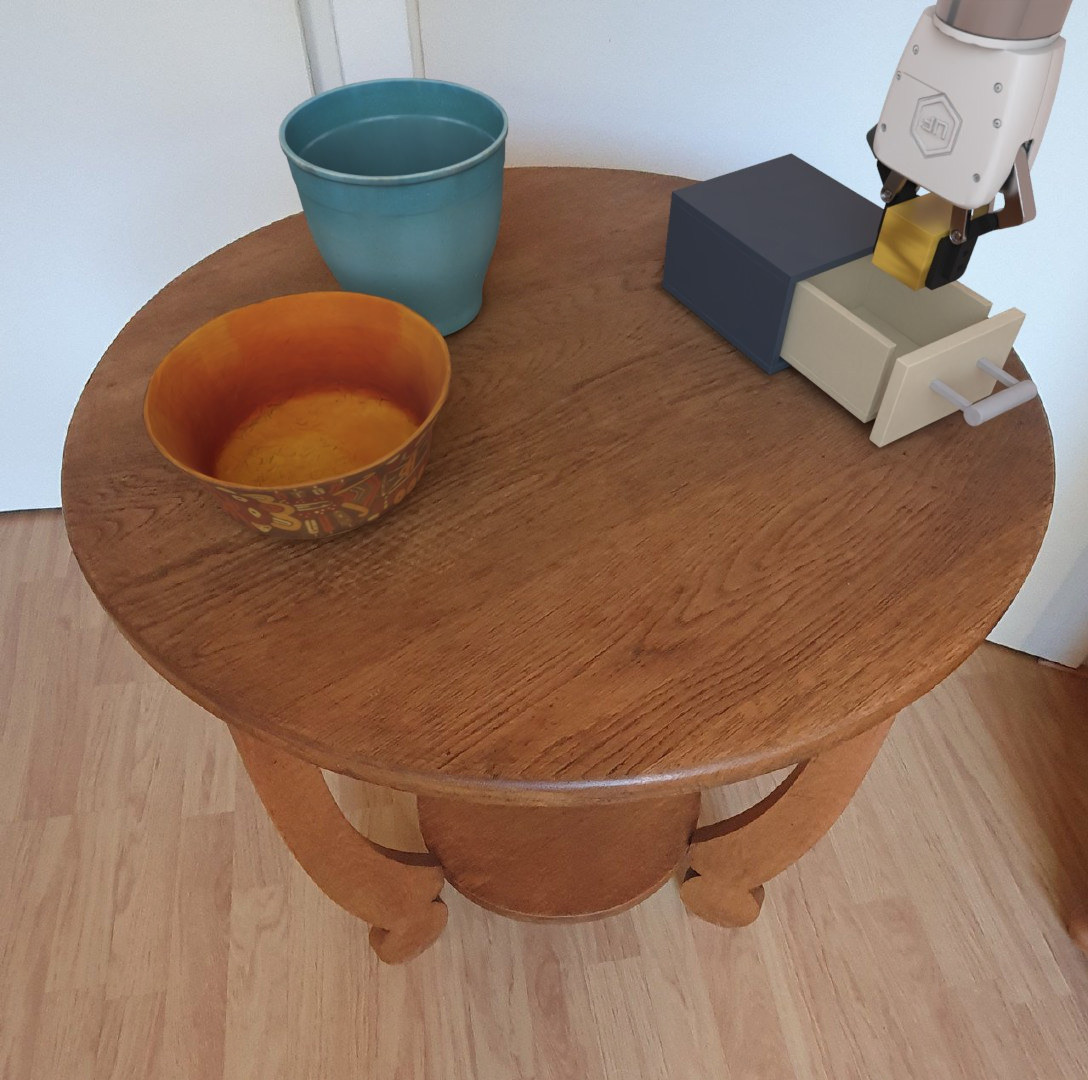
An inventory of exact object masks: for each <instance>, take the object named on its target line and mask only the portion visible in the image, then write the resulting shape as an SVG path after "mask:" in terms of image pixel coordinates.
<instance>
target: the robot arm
mask: <svg viewBox="0 0 1088 1080" xmlns="http://www.w3.org/2000/svg"><path fill="white" fill-rule="evenodd" d="M1073 1H1074V0H936V4H933V5H930V6H927V7H925V8H924V9H923V11H922V13H921V14H920V16H919V18H918V19H917V20H918V21H917V23H916V24H915V26H914V28H913V30H912V31H911V35H910V36H909V38H908V40H907V43H906V45H905V46H904V49H903V51H902V53H901V56H900V59H899V61H898V63H897V66H896V68H895V71H894V74H893V76H892V79H891V82H890V85H889V88H888V90H887V93H886V95H885V96H886V97H885V99H884V103H883V106H882V109H881V112H880V115H879V118H878V122H877V123H876V124H874V126H872V127H871V128H870V129H869V130H868V131H867V133H866V135H865V140H866V142H867V144H868V147H869V149H870V151H871V153H872V155H873V157H874V159H875V160H876V169H877V172H878V175H879V177H880V180H881V184H882V188H881V190H880V194H879V195H880V199H881V200H882V202H883V203H885V204H884V207H883V209H884V210H883V214H882V217H881V221H880V224H879V228H878V231H877V238H876V241H875V245H874V248H873V253H874V252H875V248H876V245H877V241H878V238H879V234H880V231H881V228H882V224H883V221H884V217H885V214H886V210H887V208H889V207H891V206H894V205H897V204H900V203H903V202H905V201H908V200H911V199H914V198H916V197H919V196H920V194H918V192H919V191H920V189H921V188H922V189H924V190H925V191H927V192H928V193H930V192H931V193H933V194H935V195H936V196H938V197H940V198H942V199H943V200H945V201H947V202H949V203H951V204H953V207H952V215H951V222H950V230H949V236H946V237H943V238H942V239H941V240H940V241H939V243H938V246H937V249H936V251H935V254H934V257H933V260H932V263H931V266H930V269H929V272H928V275H927V278H926V280H925V287H927V288H928V289H930V290H934V289H937V288H939V287H942V286H944V285H946V284H949V283H951V282H954V281H956V280H957V281H959V279H961V278H962V277H963V276H964V275H965V272H966V271H967V267H968V266H969V263H970V260H971V258H972V255H973V252H974V250H975V247H976V245H977V241H978V239H979V237H981V236H984V235H986V234H988V233H991V232H994V231H999V230H1005V229H1009V228H1015V227H1019V226H1022V225H1024V224H1027V223H1030V222H1031V221H1034V220H1035V218H1036V216H1037V208H1036V202H1035V197H1034V190H1033V185H1032V179H1031V171H1032V168H1033V166H1034V163H1035V161H1036V158H1037V156H1038V153H1039V150H1040V148H1041V144H1042V142H1043V139H1044V136H1045V133H1046V129H1047V126H1048V123H1049V120H1050V116H1051V113H1052V110H1053V106H1054V102H1055V99H1056V95H1057V90H1058V86H1059V83H1060V78H1061V73H1062V69H1063V64H1064V58H1065V52H1066V46H1067V45H1066V44H1067V39H1066V38H1065V37H1063V36H1061V33H1062V29H1063V27H1064V25H1065V21H1066V19H1067V16H1068V15H1069V11H1070V9H1071V6H1072V5H1073ZM998 193H999V194H1002V195H1003V200H1004V206H1003V207H1001V208H998V209H995V210H994V208H995V201H996V196H997V194H998ZM971 215H972V220H971Z"/></svg>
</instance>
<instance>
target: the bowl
mask: <svg viewBox="0 0 1088 1080" xmlns="http://www.w3.org/2000/svg"><path fill="white" fill-rule="evenodd" d="M452 375H453V361H452V357H451V354H450V350H449V346H448V343H447V341H446V339H445V338H444V337H443V336H442V334H441V333H440V331H439V330H438V329H437V328H436V326H434V325H433V324H432V323H431V322H429V321H428V320H427V319H425V318H424V317H423V316H421V315H420V314H418V313H417V312H415V311H413V310H412V309H410V308H408V307H407V306H405V305H403V304H401V303H398V302H395V301H392V300H389V299H386V298H383V297H379V296H375V295H370V294H365V293H360V292H351V291H343V290H316V291H307V292H298V293H289V294H283V295H279V296H275V297H270V298H266V299H263V300H259V301H255V302H252V303H249V304H245V305H242V306H239V307H236V308H233V309H230V310H228V311H226V312H223V313H221V314H219V315H217V316H214V317H211V318H209V319H208V320H207V321H206V322H205V323H203V324H202V325H200V326H199V327H197V328H195V329H194V330H192V331H191V332H190V333H188V334H187V335H186V336H184V337H183V338H182V339H181V340H179V341H178V342H177V343H176V344H175V345H174V346H173V347H172V348H171V349H170V350H169V351H168V352H167V353H166V355H164V357H163V358H162V360H161V361H160V363H158V365H157V366H156V368H155V370H154V371H153V373H152V375H151V377H150V378H149V381H148V383H147V386H146V389H145V393H144V396H143V402H142V415H141V416H142V417H141V418H142V421H143V425H144V430H145V433H146V436H147V437H148V439H149V441H150V442H151V444H152V446H153V448H154V449H155V450H156V451H157V452H158V453H159V454H160V455H161V457H163V458H164V459H165V460H166V461H167V462H168V463H169V464H170V465H172V466H173V467H174V468H176V469H177V470H179V471H180V472H181V473H183V474H184V475H186V476H187V477H189V479H192V480H194V481H195V482H198V483H199V484H200V485H202V486H203V487H204V488H205V490H206V491H207V492H208V493H209V495H210V496H211V498H212V499H213V500H214V501H215V503H216V504H217V505H218V506H219V508H220V509H221V510H222V511H223V512H224V513H225V514H226V515H227V516H228V517H230V518H231V519H233V520H234V521H236V522H237V523H239V524H240V525H242V526H244V527H246V528H248V529H250V530H251V531H252V532H257V533H259V534H263V535H266V536H269V537H273V538H279V539H285V540H314V539H322V538H323V539H324V538H328V537H332V536H335V535H340V534H342V533H343V534H344V533H346V532H351V531H354V530H355V529H358V528H361V527H363V526H365V525H367V524H371V523H373V522H374V521H376V520H377V519H379V518H381V517H383V516H384V515H385V514H387V513H388V512H389V511H391V510H392V509H394V508H395V507H396V506H398V504H400V503H401V502H402V501H403V500H405V498H407V497H408V496H409V495H410V493H412V491H413V490H414V488H415V487H416V486H417V485H418V483H419V481H420V480H421V478H422V476H423V474H424V471H425V469H426V468H427V466H428V463H429V459H430V455H431V448H432V442H433V441H432V438H433V427H434V424H435V422H436V421H437V419H438V417H439V415H440V413H441V411H442V409H443V407H444V405H445V403H446V401H447V398H448V395H449V392H450V388H451V384H452V377H453V376H452Z"/></svg>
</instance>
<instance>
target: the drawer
mask: <svg viewBox="0 0 1088 1080" xmlns="http://www.w3.org/2000/svg"><path fill="white" fill-rule="evenodd" d="M873 255H874V253H873V254H870V255H868V256H865V257H862V258H860V259H857V260H855V261H852V262H849V263H847V264H844V265H841V266H839V267H836V268H834V269H831V270H828V271H826V272H823V273H820V274H818V275H815V276H813V277H810V278H807V279H805V280H802V281H799V282H797V283H796V286H795V291H794V295H793V299H792V304H791V308H790V313H789V317H788V321H787V326H786V330H785V335H784V339H783V343H782V348H781V352H780V356H781V357H782V358H783V359H784V360H786V361H787V362H788V363H789V364H791V365H792V366H791V367H793V368H794V369H796V370H797V371H798V372H799V373H801V375H803V376H804V377H805V378H807V379H808V380H809V381H811V383H813V384H815V385H816V386H817V387H818V388H819V389H821V390H822V391H823V392H824V393H826V394H827V395H828V396H829V397H830V398H832V399H833V400H835V401H836V402H837V404H840V405H841V406H842V408H845V410H847V411H848V412H849V413H851V414H852V415H853V416H854V417H856V419H858V420H860V421H861V422H862V423H864V424H866V423H868V422H870V421H872V420H875V421H874V423H873V427H872V430H871V432H870V434H869V441H871V443H873V444H875V445H876V446H877V447H878V448H882V447H884V446H886V445H888V444H890V443H893V442H894V441H897V440H899V439H900V438H903V437H905V436H907V435H909V434H911V433H914V432H915V431H917V430H920V429H922V428H924V427H926V426H929V425H930V424H932V423H934V422H936V421H938V420H941V419H943V418H946V417H947V416H949V415H951V414H953V413H955V412H957V411H959V410H960V411H962V412H963V419H964V421H965V423H967V424H968V425H969V426H971V427H977V426H979V425H982V424H983V423H986V422H988V421H991V420H992V419H994V418H996V417H998V416H1000V415H1002V414H1004V413H1006V412H1009V411H1010V410H1013V409H1014V408H1017V407H1018V406H1020V405H1022V404H1025V403H1026V402H1028V401H1031V400H1032V399H1033V400H1034V399H1035V398H1036V397H1037V395H1038V386H1037V384H1036V383H1035V382H1034V381H1033V380H1032V379H1023V380H1021V381H1020V380H1019V379H1017V378H1015V376H1012V375H1011V374H1010V373H1008V372H1006V371H1005V370H1003V369H1004V366H1005V364H1006V361H1007V360H1008V357H1009V355H1010V353H1011V351H1012V348H1013V346H1014V344H1015V341H1016V339H1017V337H1018V335H1019V332H1020V330H1021V328H1022V325H1023V324H1024V322H1025V320H1026V317H1027V313H1025V312H1024V311H1022V310H1020V309H1019V308H1017V307H1016V306H1013V307H1011V308H1008V309H1006V310H1004V311H1001V312H1000V313H997V314H995V315H992V316H990V317H989V315H990V312H991V310H992V307H993V305H994V302H992V301H990V300H989V299H988V298H986V297H984V296H983V295H982V294H979V293H978V292H977V291H974V290H973V289H972V288H970V287H968V286H967V285H965V284H963V283H962V282H960V280H956V281H954V282H951V283H949V284H946V285H944V286H942V287H939V288H937V289H934V290H930V289H928V288H927V287H924V288H922V289H919V290H917V291H913V290H912V289H910V288H909V287H907V286H906V285H904V284H903V283H901V282H900V281H898V280H897V279H895V278H894V277H892V276H891V275H889V274H888V273H886V272H885V271H883V270H882V269H880V268H879V267H877V266H875V265H874V264H872V263H871V262H872V258H873ZM997 382H999V383H1001V384H1002V385H1004V386H1005V387H1007V388H1005V389H1003V390H1000V391H998V392H996V393H994V394H992V393H993V390H994V388H995V386H996V384H997Z"/></svg>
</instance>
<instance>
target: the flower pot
mask: <svg viewBox="0 0 1088 1080" xmlns="http://www.w3.org/2000/svg"><path fill="white" fill-rule="evenodd" d="M508 133H509V117H508V114H507V112H506V110H505V109H504V107H503V106H502V104H500V102H498V101H497V100H496V99H495V98H494V97H492V96H491V95H489V94H486V93H485V92H484V91H481V90H479V89H476V88H473V87H471V86H468V85H465V84H461V83H458V82H453V81H447V80H443V79H434V78H423V77H389V78H387V77H386V78H385V77H384V78H377V79H369V80H363V81H357V82H353V83H348V84H345V85H341V86H336V87H334V88H331V89H329V90H325V91H323V92H319V93H318V94H316V95H313V96H311V97H309V98H308V99H305V100H304V101H302V102H301V103H299V104H298V105H297V106H294V107H293V109H292V110H290V111H289V112H288V114H287V115H286V116H285V117H284V118H283V120H282V122H281V123H280V125H279V129H278V141H279V145H280V148H281V151H282V153H283V154H284V156H285V157H286V160H287V164H288V167H289V170H290V173H291V177H292V180H293V183H294V184H295V186H296V190H297V194H298V197H299V200H300V204H301V207H302V210H303V214H304V217H305V220H306V223H307V226H308V228H309V229H308V230H309V232H310V234H311V237H312V239H313V241H314V244H315V245H316V247H317V249H318V252H319V254H320V255H321V257H322V259H323V261H324V262H325V264H326V266H327V267H328V269H329V271H330V272H331V274H332V275H333V276H334V279H335V280H336V281H337V283H338V285H339V286H340V288H341V291H351V292H360V293H365V294H370V295H375V296H379V297H383V298H386V299H389V300H392V301H395V302H398V303H401V304H403V305H405V306H407V307H408V308H410V309H412V310H413V311H415V312H417V313H418V314H420V315H421V316H423V317H424V318H425V319H427V320H428V321H429V322H431V323H432V324H433V325H434V326H436V328H437V329H438V330H439V331H440V333H441V334H442V336H443V338H444V337H446V336H449V335H451V334H454V333H456V332H458V331H459V330H460V331H461V329H463V328H465V327H466V326H467V325H469V324H470V323H471V322H472V321H473V320H474V319H475V318H476V317H477V315H478V314H479V313H480V310H481V308H482V305H483V287H484V283H485V279H486V276H487V272H488V269H489V266H490V262H491V260H492V256H493V254H494V252H495V248H496V244H497V241H498V236H499V232H500V228H501V219H502V211H503V210H502V208H503V200H504V199H503V198H504V174H505V173H504V170H505V162H506V139H507V137H508Z"/></svg>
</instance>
